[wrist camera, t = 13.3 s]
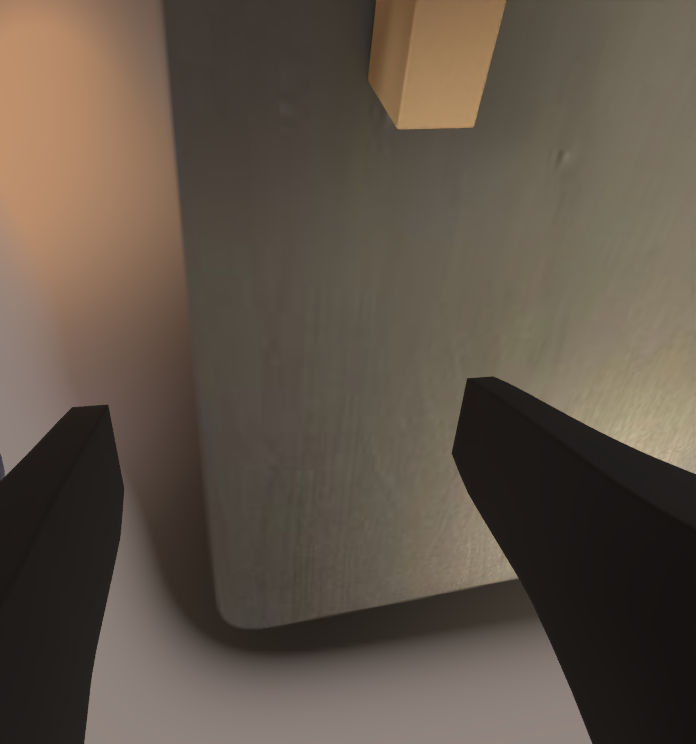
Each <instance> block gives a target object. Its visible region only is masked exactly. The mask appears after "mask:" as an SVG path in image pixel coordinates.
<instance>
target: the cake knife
mask: <svg viewBox="0 0 696 744" xmlns="http://www.w3.org/2000/svg"><path fill="white" fill-rule="evenodd" d="M506 1H507V0H376V7H375V17H374V26H373V36H372V46H371V55H370V65H369V74H368V82H369V83H370V85H371V87H372V88H373V90H374V92H375V93H376V95H377V97H378V98H379V100H380V102H381V103H382V105H383V107H384V108H385V110H386V112H387V113H388V115H389V117H390V118H391V120H392V122H393V123H394V125H395V127H396V128H397V129H439V128H472V127H474V125H475V121H476V117H477V113H478V109H479V105H480V101H481V98H482V94H483V90H484V86H485V82H486V78H487V74H488V71H489V67H490V63H491V59H492V55H493V51H494V47H495V43H496V40H497V36H498V32H499V28H500V24H501V20H502V16H503V13H504V9H505V5H506Z"/></svg>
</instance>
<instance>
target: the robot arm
mask: <svg viewBox="0 0 696 744" xmlns="http://www.w3.org/2000/svg"><path fill="white" fill-rule="evenodd" d="M452 455H453V458H454V460H455V463H456V465H457V468H458V470H459V473H460V475H461V478H462V480H463V482H464V485H465V487H466V489H467V491H468V493H469V495H470V497H471V499H472V501H473V502H474V504H475V506H476V507H477V509H478V511H479V513H480V514H481V516H482V518H483V519H484V521H485V523H486V524H487V526H488V528H489V529H490V531H491V533H492V534H493V536H494V538H495V539H496V541H497V543H498V544H499V546H500V548H501V549H502V551H503V553H504V554H505V556H506V558H507V559H508V561H509V563H510V564H511V566H512V568H513V569H514V571H515V573H516V574H517V576H518V578H519V579H520V581H521V583H522V585H523V587H524V588H525V590H526V592H527V594H528V596H529V598H530V600H531V602H532V604H533V606H534V608H535V610H536V612H537V614H538V617H539V619H540V621H541V623H542V625H543V627H544V629H545V631H546V634H547V636H548V638H549V640H550V642H551V644H552V647H553V649H554V651H555V654H556V656H557V658H558V661H559V663H560V665H561V667H562V670H563V672H564V674H565V677H566V679H567V681H568V684H569V686H570V688H571V691H572V693H573V695H574V698H575V701H576V703H577V705H578V708H579V711H580V713H581V716H582V718H583V721H584V723H585V726H586V729H587V731H588V733H589V736H590V739H591V741H592V744H696V474H694V473H691V472H689V471H686V470H684V469H681V468H679V467H676V466H674V465H671V464H669V463H666V462H664V461H662V460H659V459H657V458H654V457H652V456H650V455H647V454H645V453H643V452H641V451H638V450H636V449H634V448H632V447H630V446H628V445H626V444H623V443H621V442H619V441H617V440H615V439H613V438H611V437H609V436H607V435H605V434H603V433H601V432H599V431H597V430H595V429H593V428H591V427H589V426H587V425H585V424H583V423H581V422H580V421H578V420H576V419H574V418H572V417H570V416H568V415H566V414H565V413H563V412H561V411H559V410H557V409H555V408H554V407H552V406H550V405H548V404H546V403H544V402H543V401H541V400H539V399H537V398H535V397H533V396H532V395H530V394H528V393H526V392H524V391H522V390H520V389H518V388H517V387H515V386H513V385H511V384H509V383H507V382H504V381H502V380H500V379H498V378H495V377H480V378H467V382H466V387H465V392H464V397H463V402H462V406H461V411H460V416H459V421H458V426H457V431H456V435H455V440H454V445H453V450H452ZM123 497H124V485H123V481H122V475H121V470H120V465H119V459H118V454H117V450H116V444H115V438H114V433H113V428H112V423H111V418H110V412H109V407H108V405H98V406H84V407H72V408H71V409H70V410H69V411H68V412H67V413H66V414H65V415H64V416H63V417H62V418H61V419H60V420H59V421H58V422H57V423H56V424H55V426H54V427H53V428H52V429H51V430H50V431H49V432H48V433H47V434H46V435H45V436H44V437H43V438H42V439H41V441H39V443H38V444H37V445H36V446H35V447H34V448H33V449H32V450H31V451H30V452H29V453H28V454H27V455H26V456H25V457H24V458H23V459H22V460H21V461H20V462H19V463H18V464H17V465H16V466H15V467H14V468H13V469H12V470H11V471H10V472H9V473H8V474H7V475H6V476H5V477H4V478H3V479H2V480H1V481H0V744H84V740H85V730H86V722H87V713H88V703H89V695H90V685H91V678H92V672H93V666H94V660H95V654H96V649H97V644H98V640H99V635H100V630H101V626H102V621H103V616H104V611H105V607H106V602H107V597H108V593H109V589H110V584H111V579H112V575H113V570H114V565H115V560H116V556H117V551H118V546H119V541H120V534H121V524H122V511H123Z"/></svg>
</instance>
